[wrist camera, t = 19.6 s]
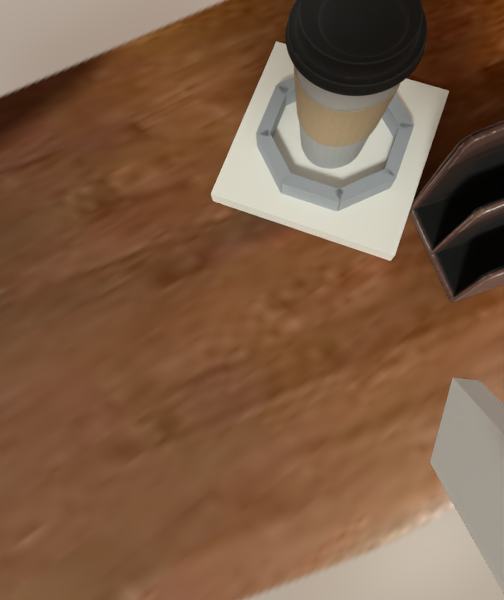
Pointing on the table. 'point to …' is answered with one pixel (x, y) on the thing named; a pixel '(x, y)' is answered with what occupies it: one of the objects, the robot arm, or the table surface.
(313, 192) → the dock board
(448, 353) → the table surface
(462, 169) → the letter holder
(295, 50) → the coffee cup
